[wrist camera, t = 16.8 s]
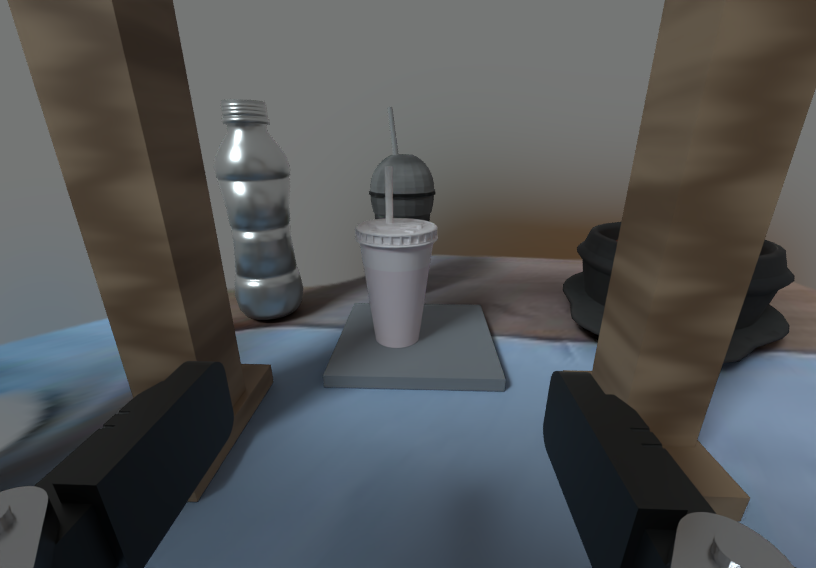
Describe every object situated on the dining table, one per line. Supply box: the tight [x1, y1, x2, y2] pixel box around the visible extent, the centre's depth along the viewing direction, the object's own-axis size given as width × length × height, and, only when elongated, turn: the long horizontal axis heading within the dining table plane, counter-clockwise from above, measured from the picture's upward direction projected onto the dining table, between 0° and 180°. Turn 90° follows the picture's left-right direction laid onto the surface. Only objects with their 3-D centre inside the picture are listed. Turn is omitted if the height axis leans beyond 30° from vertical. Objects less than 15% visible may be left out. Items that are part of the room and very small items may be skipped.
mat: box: [323, 303, 506, 391], centre depth 33 cm, size 13×13×1 cm
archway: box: [8, 0, 816, 521], centre depth 18 cm, size 34×10×30 cm, turn 88°
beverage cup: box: [369, 107, 435, 221], centre depth 42 cm, size 7×7×20 cm
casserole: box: [563, 222, 794, 363], centre depth 37 cm, size 25×19×8 cm
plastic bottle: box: [214, 100, 303, 320], centre depth 36 cm, size 6×7×20 cm
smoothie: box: [355, 166, 438, 348], centre depth 30 cm, size 6×6×14 cm
